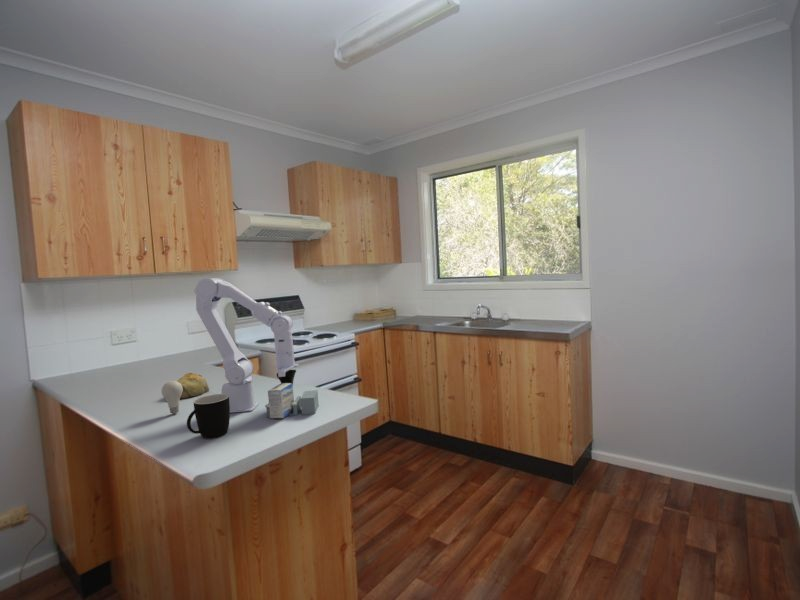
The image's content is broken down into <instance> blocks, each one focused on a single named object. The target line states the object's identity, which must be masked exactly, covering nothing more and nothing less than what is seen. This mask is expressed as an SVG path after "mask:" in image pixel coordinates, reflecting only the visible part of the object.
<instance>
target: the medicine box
mask: <svg viewBox="0 0 800 600" xmlns="http://www.w3.org/2000/svg"><path fill="white" fill-rule="evenodd" d="M267 399H268V403H269V409H270V417H269V418H270V419H284V418H286V417H288V416H287V415H288V414H290V413H291V412H292V411H293V405H292V403H294V401H295V397H294V383H293V384H292V383H282V384H281V383H280V384H277V385H276V386H274V387H273V388H271V389H269V390H267Z"/></svg>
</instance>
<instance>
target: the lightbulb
mask: <svg viewBox="0 0 800 600" xmlns="http://www.w3.org/2000/svg"><path fill="white" fill-rule="evenodd" d="M177 381H178V380H170V381H167V382H166V383H164V384H163V385H162V387H161V395H162V397H163V398H164V399H165V400H166V402H167V405H168V406H167V407H168V408H169V413H170V414H172V415H177V413H179V412H180V408H179V407H180V399H181V398H180V397H181V394H182V392H183V387H182V385H181V384H180V383H179V382H177Z"/></svg>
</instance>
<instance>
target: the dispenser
mask: <svg viewBox="0 0 800 600" xmlns="http://www.w3.org/2000/svg"><path fill="white" fill-rule="evenodd" d="M292 405H293V411H292V412H291V413H290V414H288V415H287V416H286V417H289V416H290V417H291V416H298V414H299V412H300V411H301V415H312V414H313V415H314V414H316V413H317V410H318V408H319V392H318V390H317V389H316V390H315V389H313V390H305V391H304V393H302V396H301V395H298V396H297V397H296V398H295V399H294V403H292ZM264 407H265V408H266V417H267V418H270V409H269V402H268V404H265V405H264Z"/></svg>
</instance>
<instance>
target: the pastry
mask: <svg viewBox="0 0 800 600" xmlns="http://www.w3.org/2000/svg"><path fill="white" fill-rule="evenodd" d="M176 381H177V382H179V383H180V384H181V385H182V387H183V392H182V394H181V397H180V399H189V398H192V397H194V396H195V397H196V396H200V395H204V394H206V393H208V392H209V391H210V388H209V384H208V382H207V380H206V378H205V377H203V375H201V374H197V373H193V372H189V373H186V374H184V375H183V376H182V377H180V378H179V379H178V380H176Z"/></svg>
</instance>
